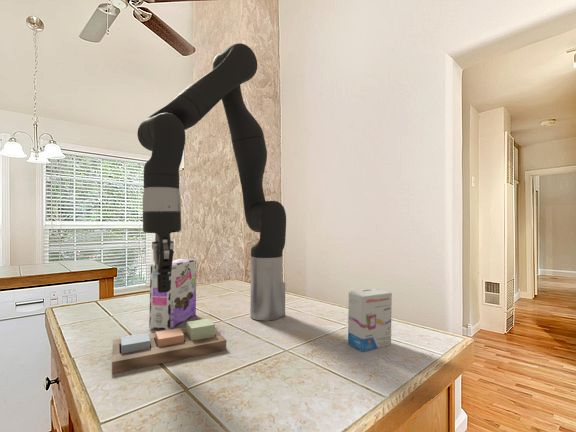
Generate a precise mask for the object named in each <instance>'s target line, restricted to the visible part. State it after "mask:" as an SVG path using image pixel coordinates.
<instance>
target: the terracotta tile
mask: <svg viewBox="0 0 576 432" xmlns="http://www.w3.org/2000/svg"><path fill="white" fill-rule="evenodd" d="M181 329H182V328H180V327H177V328H172V329H169V330H159V331H155V332H154V333H155V343H156V346H157V347H161V346H166V345H171V344H177V343H182V342H184V334H183V332H182V331H181Z"/></svg>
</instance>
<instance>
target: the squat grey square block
mask: <svg viewBox="0 0 576 432" xmlns="http://www.w3.org/2000/svg"><path fill="white" fill-rule="evenodd" d="M148 334H149V333H148V332H145V333H139V334H132V335H127V336H126V335H125V336H121V337H120V339H121V353H120V354H122V353H128V352H133V351H139V350H144V349H150V338H149V335H148Z"/></svg>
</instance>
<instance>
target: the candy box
mask: <svg viewBox="0 0 576 432" xmlns="http://www.w3.org/2000/svg"><path fill="white" fill-rule="evenodd" d="M149 276H150V283H149V322H148V325H149V326H148V327H149V329H152V330H160V331H163V330H169V329H175V327H177V326H179V325H180V324H182V323H184V322H185V321H186V322H187V320H189V319H190V318H193V317H194V316H196V315H197V259H192V258H191V259H185V258H178V259H173V261H172V270H171V272H170V274H169V291H168V292H164V293H159V292H158V290H157V274H156V269H155V263H153V264H150V275H149Z"/></svg>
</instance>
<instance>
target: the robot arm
mask: <svg viewBox="0 0 576 432" xmlns="http://www.w3.org/2000/svg"><path fill="white" fill-rule="evenodd" d="M257 71H258V59H257V56H256V54H255V52H254V51H253V49H252V48H251V47H250V46H249V45H247V44H245V43H242V42H241V43H240V42H239V43H234V44H232V45H230V46H229V47H227V48H225V49H224V50H222V51H220V52H219V53H217V54H216V55H215V57H214V58H213V60H212V70H211V71H209V72H208V73H205V75H204V76H202V77H201V78H199V79H197V80H195V81H194V82H193V83H191V84H189V85H188V86H186V88H184V89H183V90H182V91H181V92H180V93H178V94H177V95H176V96H175V97H174V98H173V99H171V101H170V102H169V103H167V104H166V105H165V106H163V107H161V108H160V109H158V110H157V111H155V112H154V113H152V114H151V115H149V116H148V117H147V118H145V119H144V120H143V121H142V122H140V124H139V126H138V128H137V132H136V133H137V139H138V141H139V143H140V145H141V146H142V147H143V148H144V149H146V150H148V151H151V156H150V158H149V159H148V160H147V161H146V162H145V164H144V166H143V194H142V231H143V233H145V234H155V236H154V237H155V238H154V240H153V241H151V249H152V251H153V252H152V254H153V257H152V259H153V260H152V261H153V262H154V264H155V269H156V274H157V290H158V292H159V293H164V292H168V291H169V274H170V272H171V270H172V261H173V260H174V253H175V251H174V249H175V242H174V240H173V241H172V240H171V234H172V233H180V232H181V231H182V198H181V192H180V167H181V164H182V159H183V154H184V151H185V145H186V130H188V129H190V128H192V127H194V126H195V125H197V124H198V123H199V122H200V121H201V120H202V119H203V118H204V117H205V116H206V115H207V114H208V113H209V112H210V111H211V110H212V109H213V108H214V107H216V105H217V104H218V103H220V101H222V104H223V108H224V112H225V117H226V120H227V125H228V129H229V134H230V141H231V145H232V148H233V154H234V158H235V162H236V165H237V170H238V171H237V172H238V176H239V181H240V187H241V193H242V202H243V209H244V210H243V212H244V217H245V222H246V224H247V226H248V228H249V229H250V230H251V231H252V232H254V233H259V239H258V242H256V243H255V244H254V245H252V246H251V248H250V307H249V308H250V310H249V311H250V318H251V319H254V320H257V321H275V320H279V319H281V318H282V317H286V283H285V282H284V281H283V251H284V249H285V246H286V234H287V214H286V213H287V212H286V209H285V207H284V205H283V204H282V203H281V202H279V201H276V200H266V198H265V193H264V189H263V187H264V186H263V181H264V180H263V179H264V174H265V169H266V166H267V165H266V164H267V160H268V159H267V158H268V149H267V144H266V140H265V134H264V131H263V129H262V126H261V125H260V123H259V122H258V121H257V119H256V118H255V117H254V116H253V115H252V113H251V112H250V111H249V109H248V108H247V106H246V104H245V101H244V98H243V94H242V89H241V85H243V84H244V83H246V82H249V81H250V80H251V79H252V78H254V76H255V75H256V74H257Z"/></svg>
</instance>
